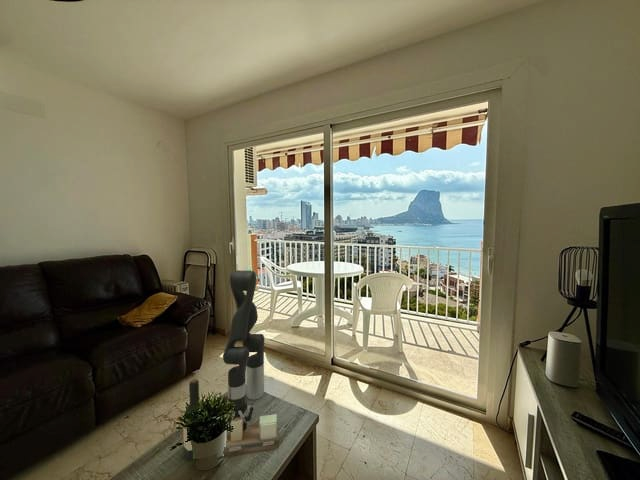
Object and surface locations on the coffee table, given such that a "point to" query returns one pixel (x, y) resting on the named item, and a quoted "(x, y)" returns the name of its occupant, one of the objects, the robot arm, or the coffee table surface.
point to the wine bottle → (193, 405)
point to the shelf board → (249, 442)
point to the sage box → (268, 427)
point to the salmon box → (237, 429)
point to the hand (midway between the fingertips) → (237, 430)
